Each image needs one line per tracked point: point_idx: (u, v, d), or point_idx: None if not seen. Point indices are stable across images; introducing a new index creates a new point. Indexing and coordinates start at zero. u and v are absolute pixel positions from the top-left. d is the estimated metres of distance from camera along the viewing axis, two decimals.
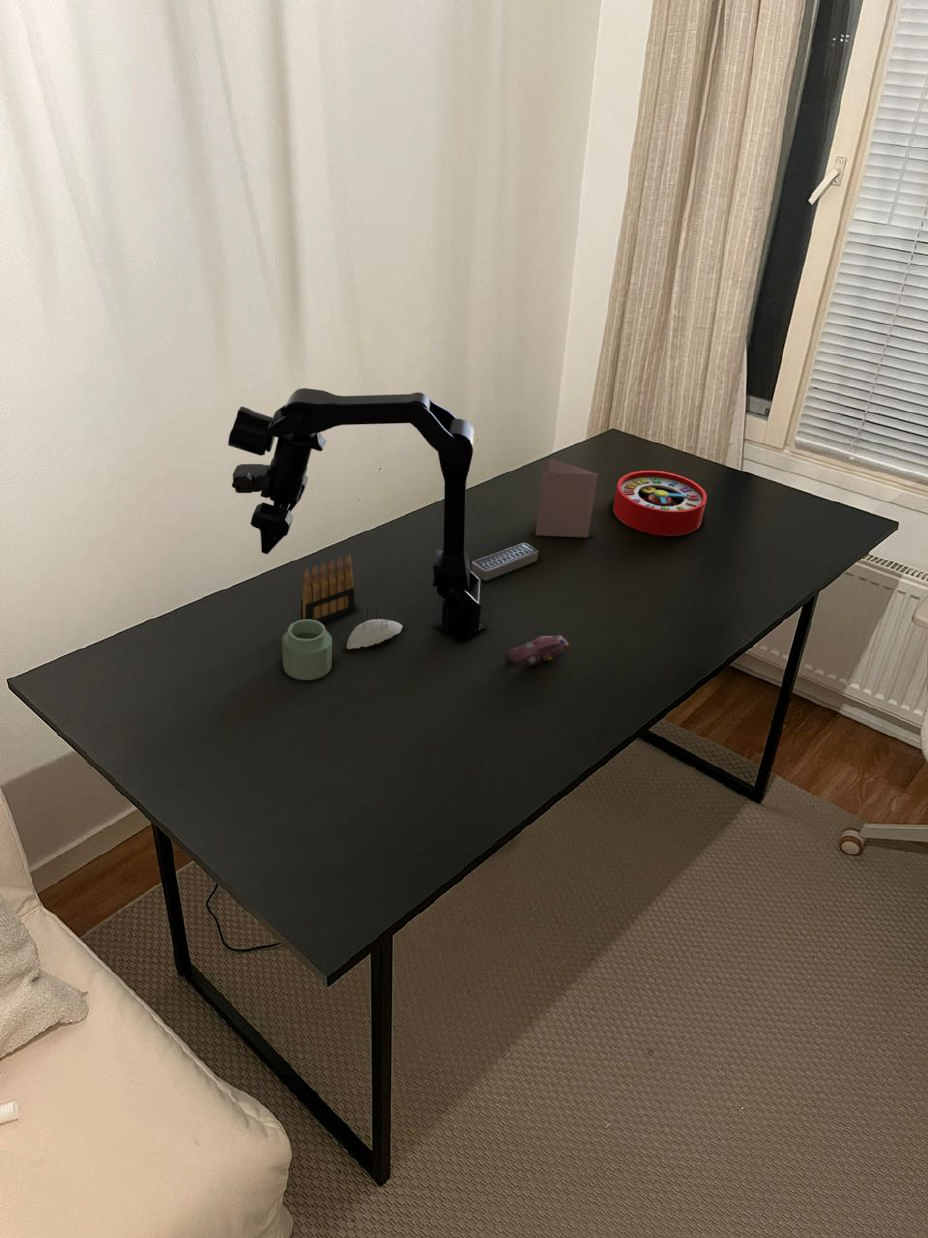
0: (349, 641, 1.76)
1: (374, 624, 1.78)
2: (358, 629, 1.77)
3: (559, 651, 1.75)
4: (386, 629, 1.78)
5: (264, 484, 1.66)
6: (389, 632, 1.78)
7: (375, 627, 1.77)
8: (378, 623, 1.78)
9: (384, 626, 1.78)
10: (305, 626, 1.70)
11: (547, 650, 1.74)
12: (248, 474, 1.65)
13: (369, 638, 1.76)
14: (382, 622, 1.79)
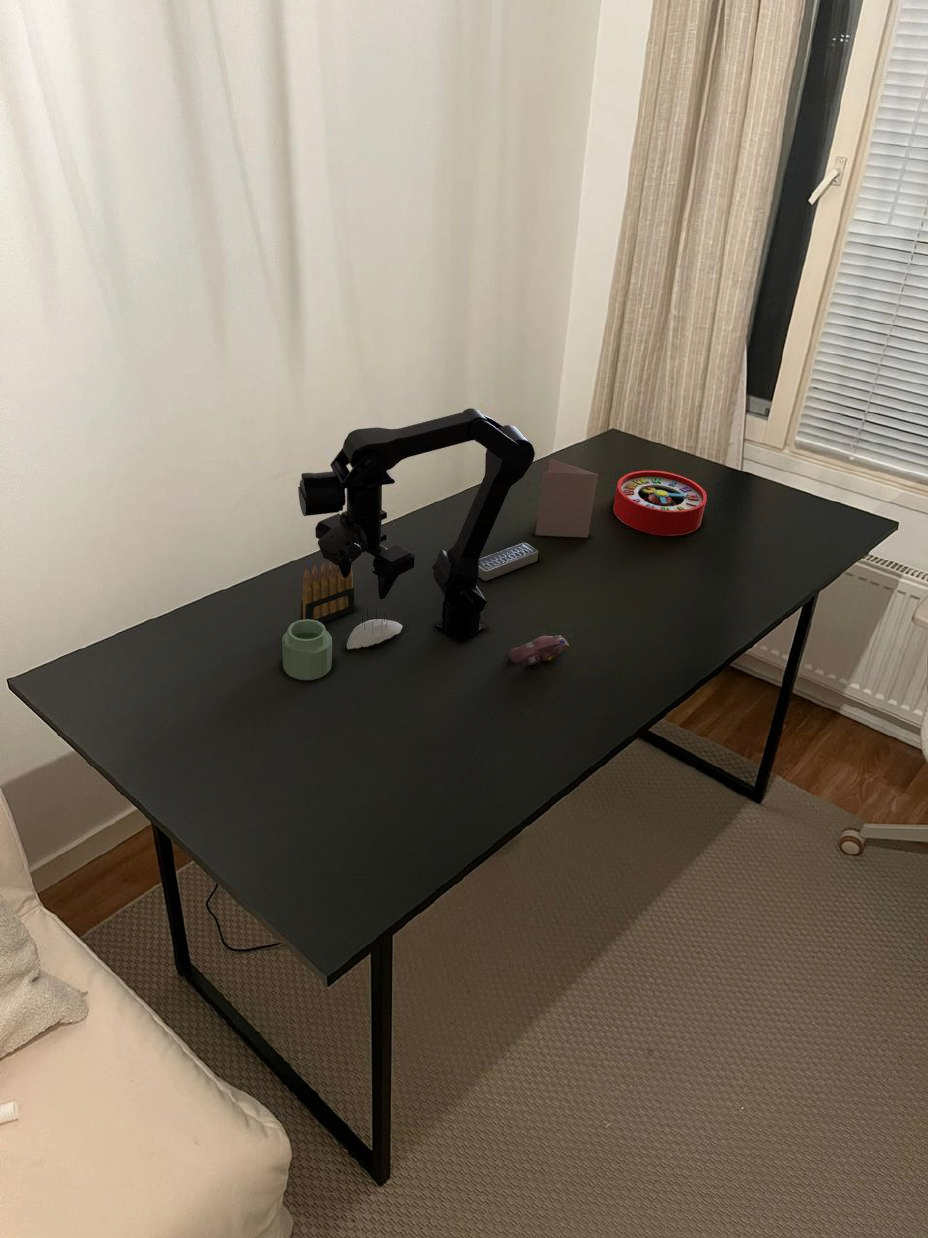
0: (349, 641, 1.76)
1: (374, 624, 1.78)
2: (358, 629, 1.77)
3: (559, 651, 1.75)
4: (386, 629, 1.78)
5: (362, 539, 1.62)
6: (389, 632, 1.78)
7: (375, 627, 1.77)
8: (378, 623, 1.78)
9: (384, 626, 1.78)
10: (305, 626, 1.70)
11: (547, 650, 1.74)
12: (351, 540, 1.59)
13: (369, 638, 1.76)
14: (382, 622, 1.79)
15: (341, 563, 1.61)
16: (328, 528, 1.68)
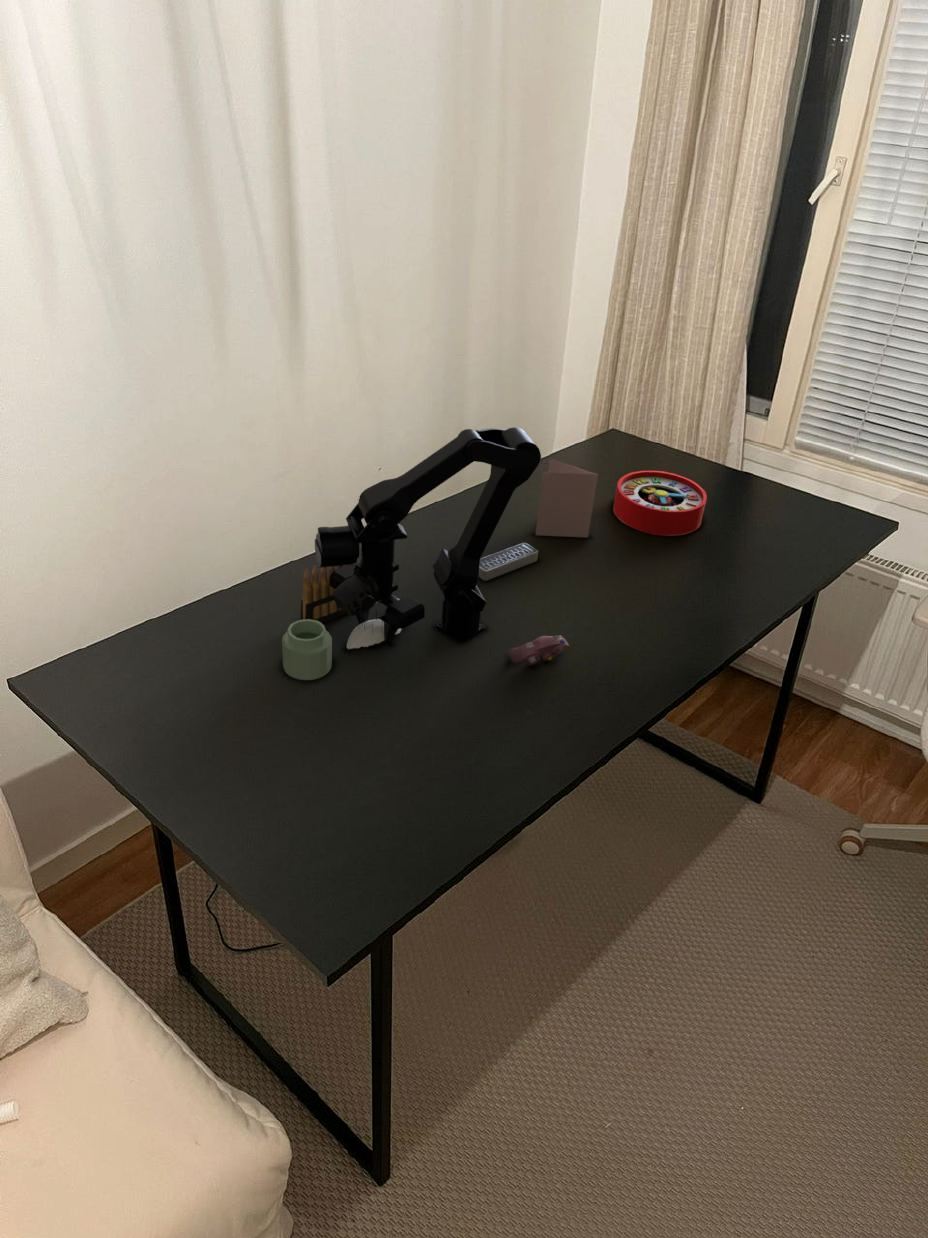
0: (349, 641, 1.76)
1: (374, 624, 1.78)
2: (358, 629, 1.77)
3: (559, 651, 1.75)
4: None
5: (375, 591, 1.69)
6: None
7: (375, 627, 1.77)
8: (378, 623, 1.78)
9: None
10: (305, 626, 1.70)
11: (547, 650, 1.74)
12: (364, 592, 1.66)
13: (369, 638, 1.76)
14: (382, 622, 1.79)
15: (354, 613, 1.68)
16: (342, 578, 1.75)
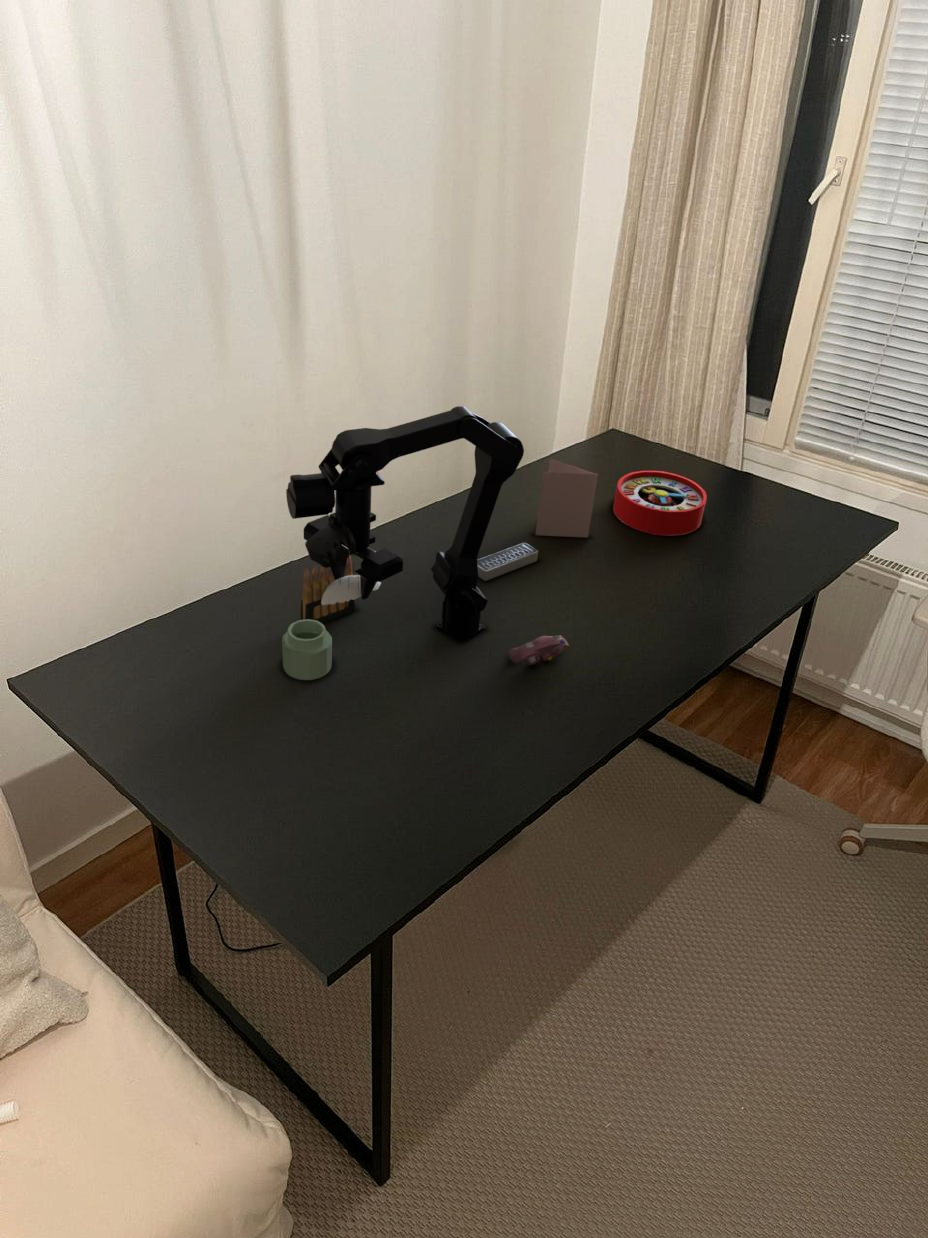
0: (324, 597, 1.67)
1: (351, 580, 1.68)
2: (333, 584, 1.68)
3: (559, 651, 1.75)
4: None
5: (351, 542, 1.60)
6: None
7: (351, 583, 1.68)
8: (355, 578, 1.69)
9: None
10: (305, 626, 1.70)
11: (547, 650, 1.74)
12: (338, 542, 1.57)
13: (345, 594, 1.66)
14: (359, 578, 1.69)
15: (328, 565, 1.59)
16: (316, 530, 1.66)
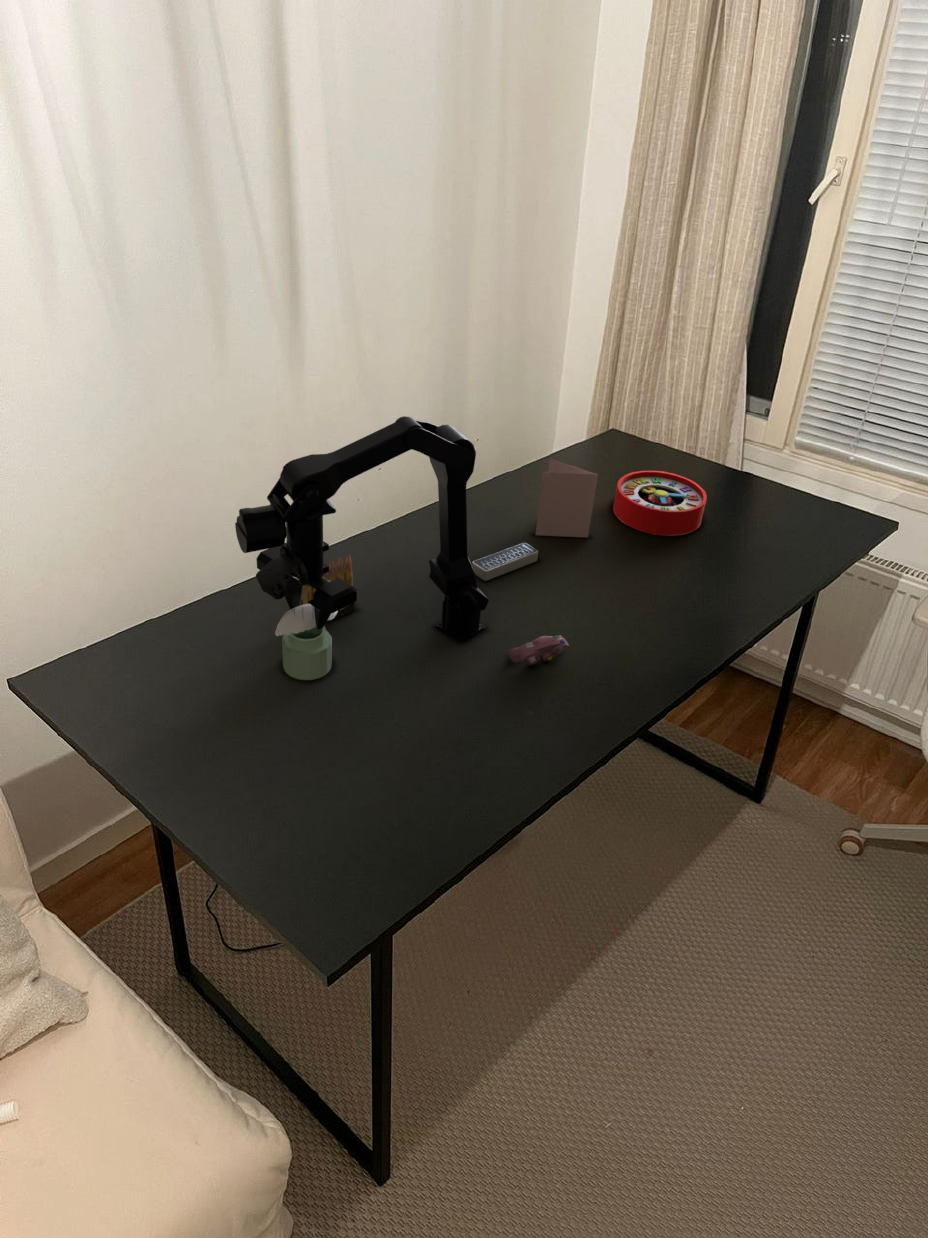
0: (278, 627, 1.63)
1: (305, 609, 1.65)
2: (288, 615, 1.65)
3: (559, 651, 1.75)
4: None
5: (302, 572, 1.56)
6: None
7: (306, 612, 1.65)
8: (310, 608, 1.65)
9: None
10: None
11: (547, 650, 1.74)
12: (289, 574, 1.54)
13: (299, 624, 1.63)
14: None
15: (280, 597, 1.56)
16: (269, 559, 1.63)
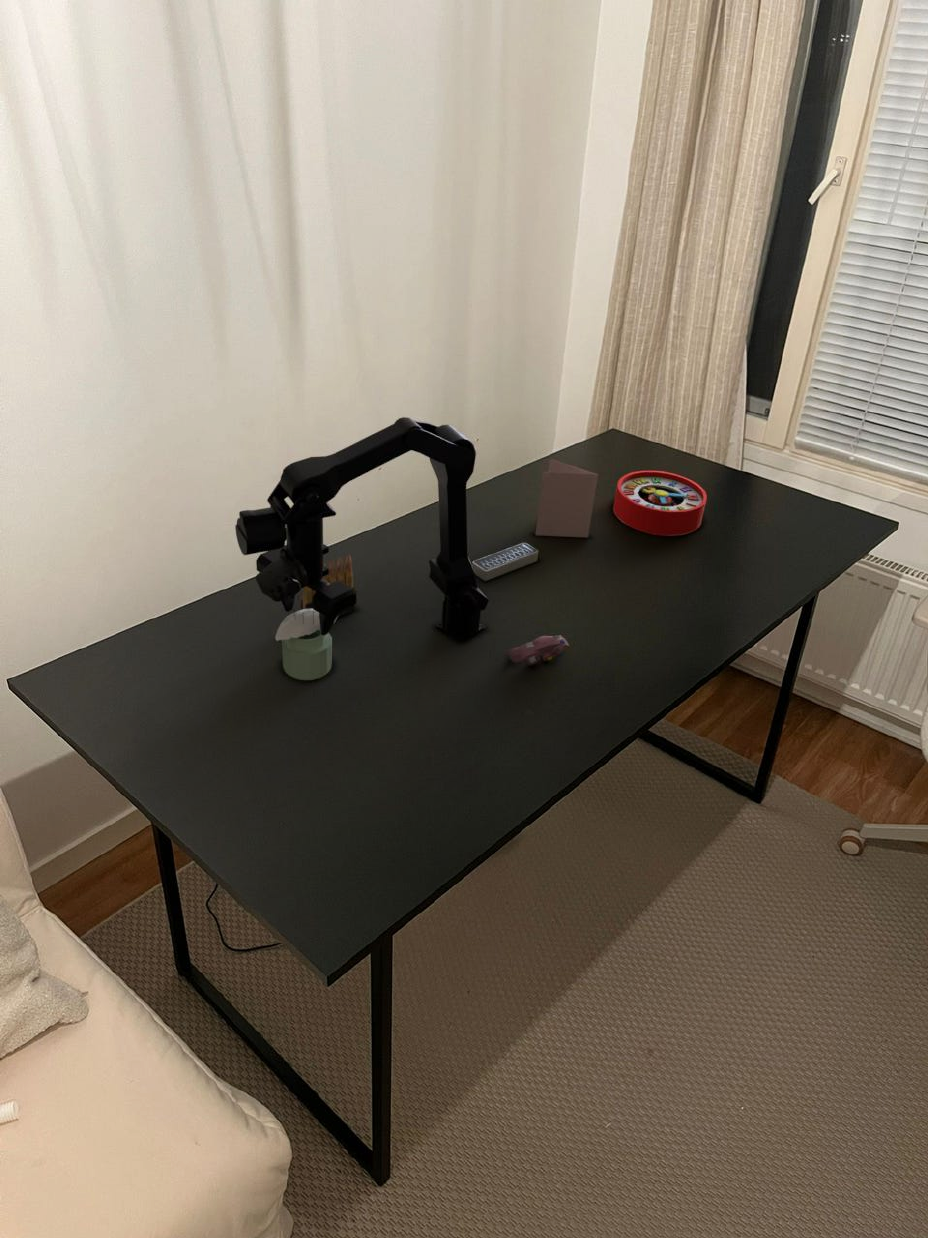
0: (278, 632, 1.64)
1: (306, 614, 1.66)
2: (288, 619, 1.65)
3: (559, 651, 1.75)
4: (318, 619, 1.66)
5: (302, 575, 1.56)
6: None
7: (306, 617, 1.65)
8: (310, 613, 1.66)
9: (316, 616, 1.66)
10: None
11: (547, 650, 1.74)
12: (289, 576, 1.54)
13: (299, 629, 1.64)
14: (314, 612, 1.67)
15: (279, 599, 1.56)
16: (269, 561, 1.63)
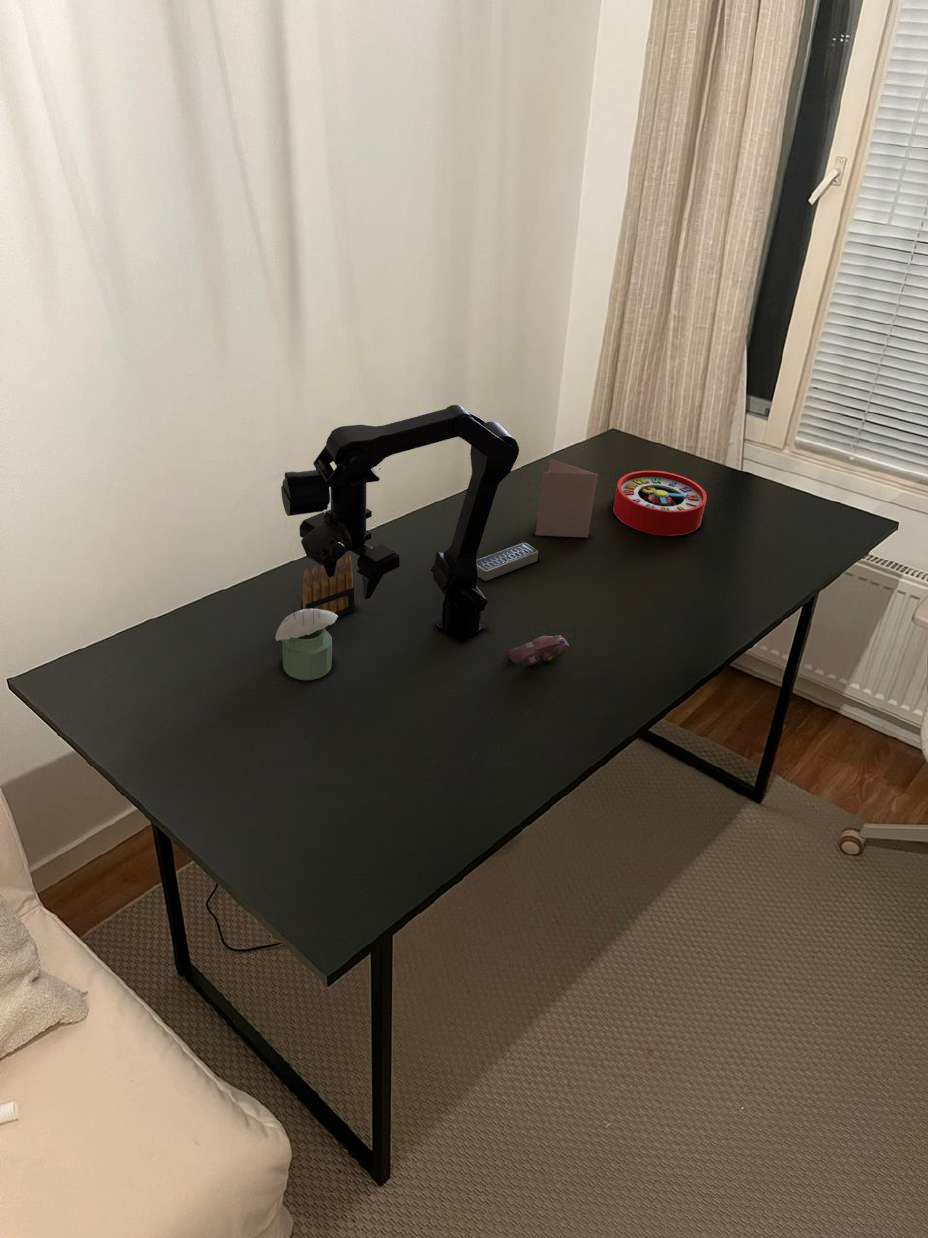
0: (278, 632, 1.64)
1: (306, 614, 1.66)
2: (288, 619, 1.65)
3: (559, 651, 1.75)
4: (318, 619, 1.66)
5: (347, 538, 1.59)
6: (322, 622, 1.66)
7: (306, 617, 1.65)
8: (310, 613, 1.66)
9: (316, 616, 1.66)
10: None
11: (547, 650, 1.74)
12: (334, 539, 1.57)
13: (299, 629, 1.64)
14: (314, 612, 1.67)
15: (325, 562, 1.59)
16: (312, 527, 1.66)
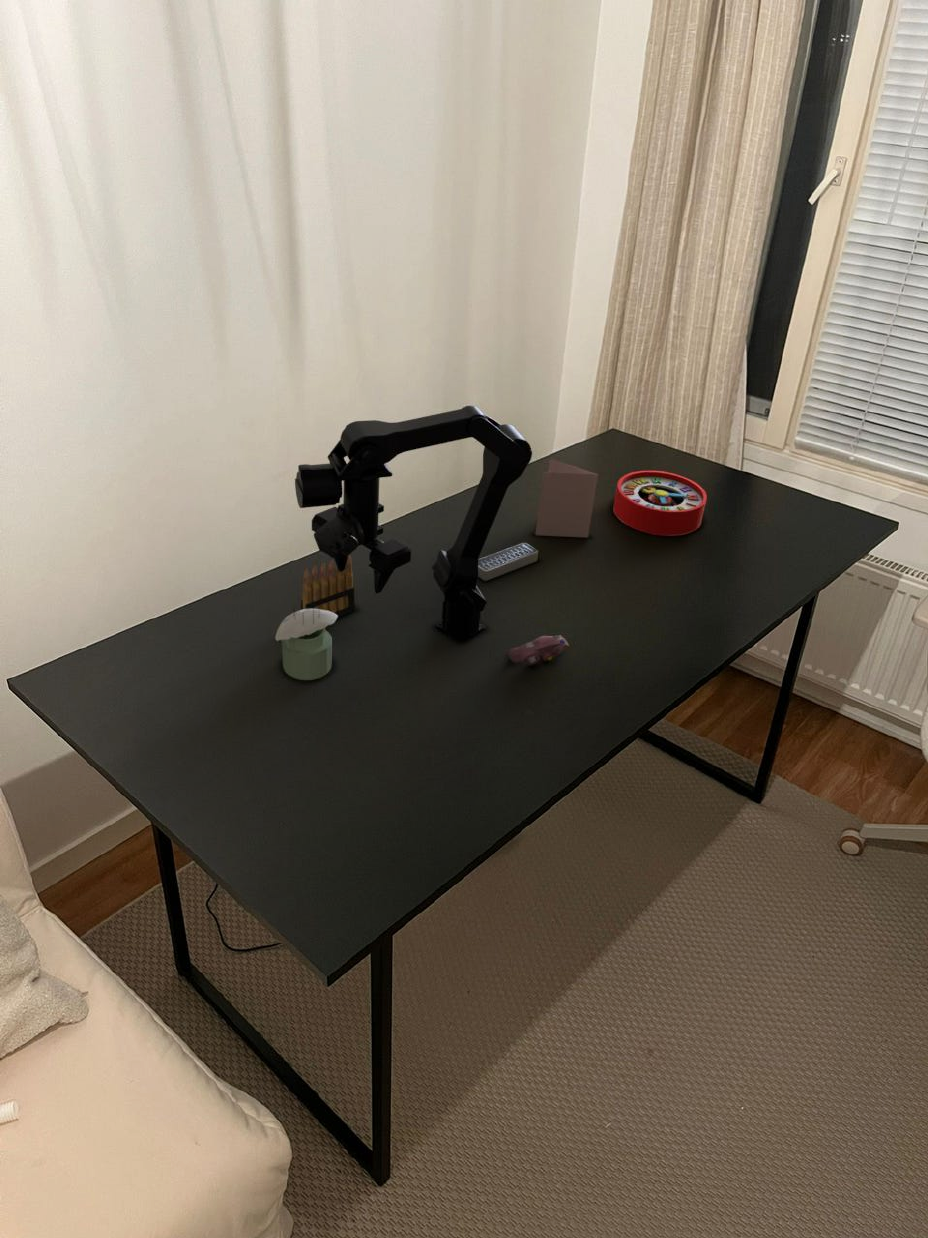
0: (278, 632, 1.64)
1: (306, 614, 1.66)
2: (288, 619, 1.65)
3: (559, 651, 1.75)
4: (318, 619, 1.66)
5: (359, 532, 1.61)
6: (322, 622, 1.66)
7: (306, 617, 1.65)
8: (310, 613, 1.66)
9: (316, 616, 1.66)
10: None
11: (547, 650, 1.74)
12: (347, 533, 1.58)
13: (299, 629, 1.64)
14: (314, 612, 1.67)
15: (337, 556, 1.60)
16: (324, 521, 1.67)
